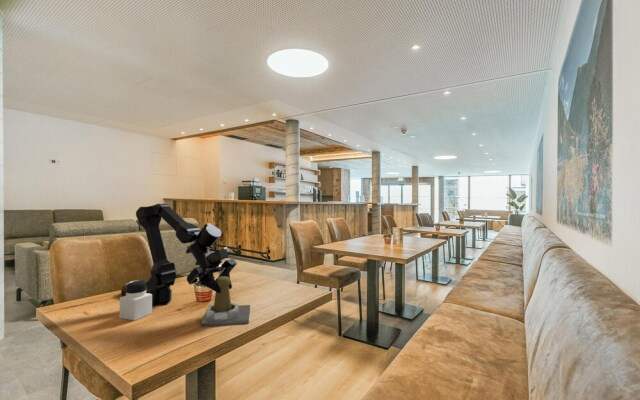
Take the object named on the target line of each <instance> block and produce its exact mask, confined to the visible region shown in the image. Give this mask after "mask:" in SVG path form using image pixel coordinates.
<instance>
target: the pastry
mask: <svg viewBox="0 0 640 400" xmlns="http://www.w3.org/2000/svg"><path fill="white" fill-rule="evenodd" d="M141 280H142V281H145V282H146V283H147V281H148V280H145V279H141ZM126 284H127V283H125V284H123V285H121V289H120V290H121V291H120V294H121V297H123V296H126ZM146 293H149V294H151V290H150V289H147V287H146Z"/></svg>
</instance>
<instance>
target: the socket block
mask: <svg viewBox="0 0 640 400" xmlns="http://www.w3.org/2000/svg"><path fill="white" fill-rule="evenodd" d="M213 308H214V304H212V305H208V306H207V308H206V310H205V314H204V317H203V318H202V321H201V322H200V327H214V326H215V327H217V326H230V325H231V326H232V325H242V324H243V325H244V324H249V323H250V314H251V313H250V312H251V304H244V305H243V304H242V305H241V304H239V303H234V302H231V309H230V310H228V311H224V312H216V311H214V310H213Z"/></svg>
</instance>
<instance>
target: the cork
mask: <svg viewBox="0 0 640 400" xmlns="http://www.w3.org/2000/svg"><path fill="white" fill-rule="evenodd" d="M215 281H216V282H217V284H218V286H219V288H220V290H221V292H220V293H217V292H215V295H214V300H213V301H214V303H213V305H214V308H213V310H214V311H216V312H224V311H228V310H230V309H231V293H230V289H229V285H230V283H231V284H232V280H231V277H230V278H229V277H226V276H222V277H216V278H215Z"/></svg>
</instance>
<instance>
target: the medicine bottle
mask: <svg viewBox="0 0 640 400" xmlns="http://www.w3.org/2000/svg"><path fill="white" fill-rule="evenodd" d="M142 280H143V279H141V280H140V279H138V280H132V281H129V282H127V283H125V284H126V296H120V297H119V319H125V320H128V321H134V322H135V321H137V320H139V319H143V318H145V317H147V316H149V315H151V314H152V313H153V305H152V294H149V293H146V282H145V281H146V280H144V281H142Z"/></svg>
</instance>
